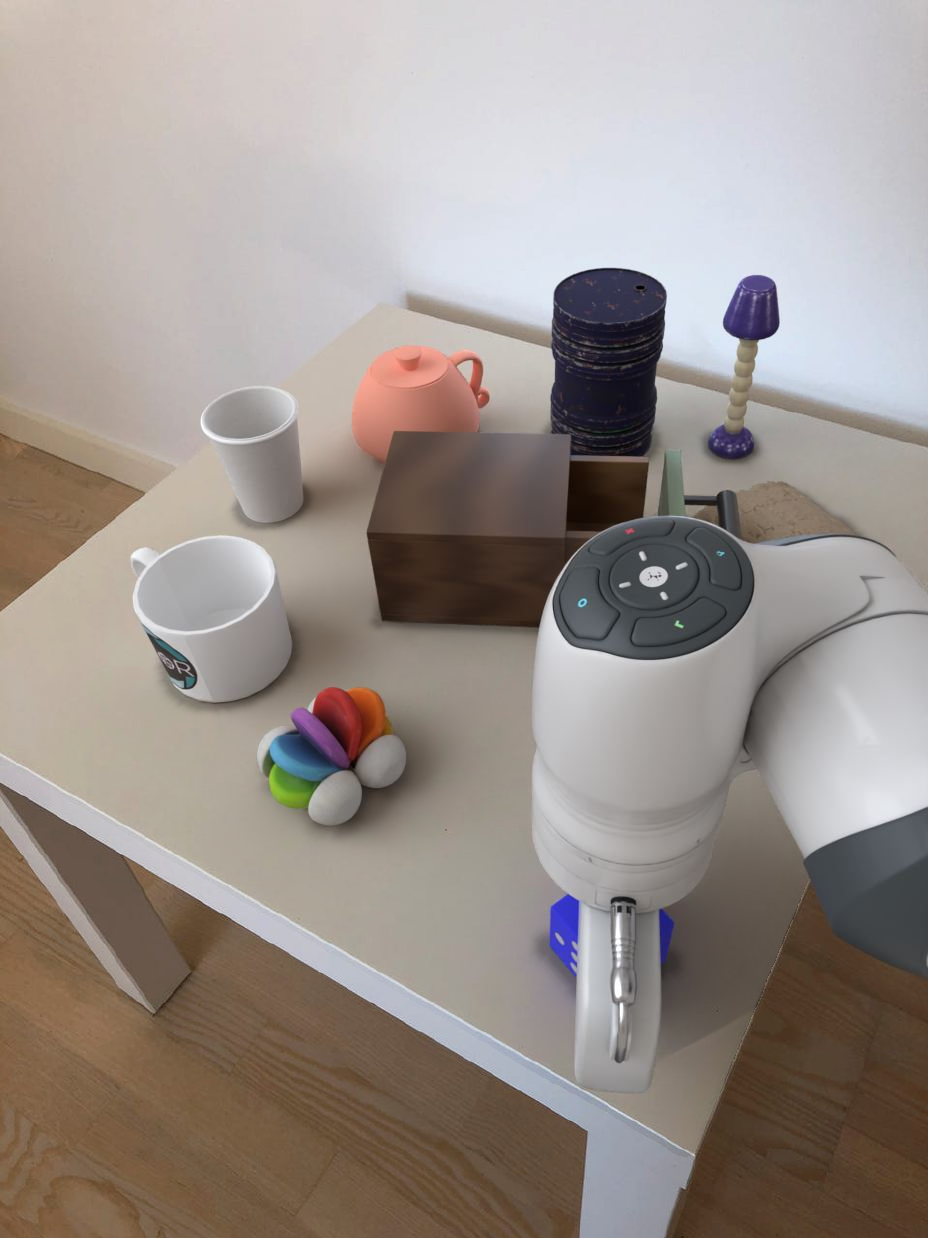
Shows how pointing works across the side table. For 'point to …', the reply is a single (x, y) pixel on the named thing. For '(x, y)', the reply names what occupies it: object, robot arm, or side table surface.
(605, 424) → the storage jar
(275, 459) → the dixie cup
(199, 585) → the mug
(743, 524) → the clay tablet
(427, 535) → the cabinet
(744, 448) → the toy lamp
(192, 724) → the side table surface
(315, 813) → the rainbow petal toy
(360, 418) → the sugar bowl
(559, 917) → the die
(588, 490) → the drawer
